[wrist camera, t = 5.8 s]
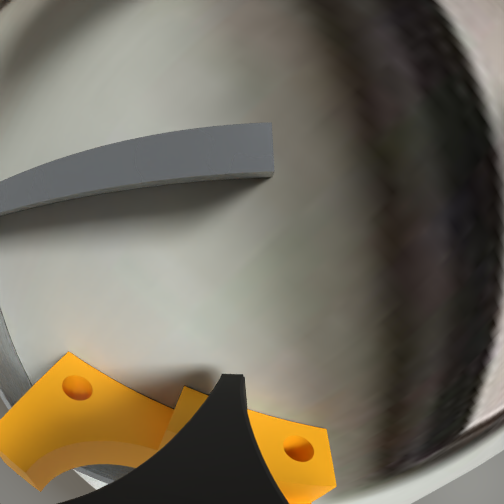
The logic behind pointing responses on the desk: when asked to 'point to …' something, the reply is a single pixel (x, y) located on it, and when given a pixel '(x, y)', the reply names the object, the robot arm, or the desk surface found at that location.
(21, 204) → the frame
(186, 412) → the pipe clamp
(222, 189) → the desk surface
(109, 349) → the desk surface
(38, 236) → the desk surface
